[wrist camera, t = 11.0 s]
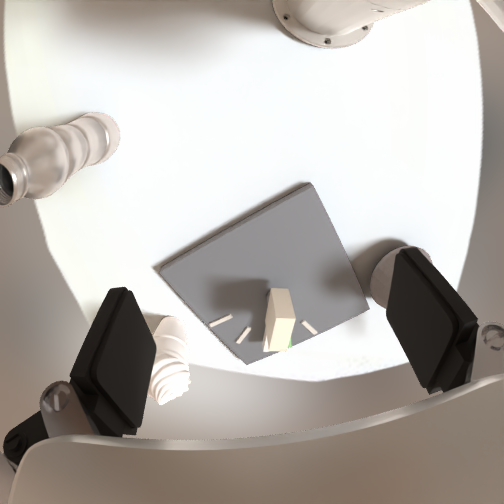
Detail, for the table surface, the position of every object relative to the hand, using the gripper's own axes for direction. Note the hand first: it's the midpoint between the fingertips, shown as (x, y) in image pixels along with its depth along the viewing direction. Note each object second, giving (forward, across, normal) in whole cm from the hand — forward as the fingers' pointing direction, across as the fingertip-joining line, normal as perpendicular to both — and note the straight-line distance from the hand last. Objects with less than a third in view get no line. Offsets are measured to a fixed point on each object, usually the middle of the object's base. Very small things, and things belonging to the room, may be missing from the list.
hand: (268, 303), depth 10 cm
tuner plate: (+28, -1, +21) cm, 35 cm away
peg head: (+27, -1, +25) cm, 36 cm away
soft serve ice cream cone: (+28, +16, +26) cm, 42 cm away
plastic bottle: (+28, +18, -6) cm, 34 cm away
